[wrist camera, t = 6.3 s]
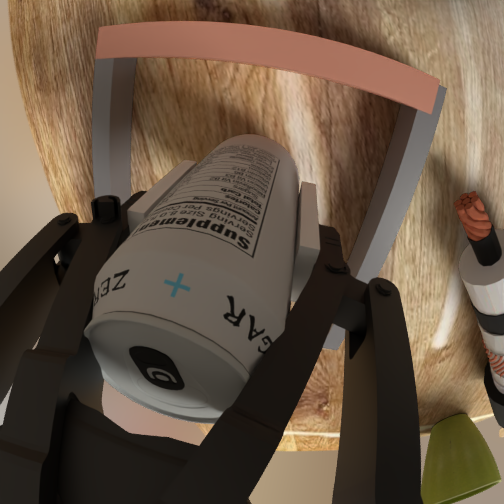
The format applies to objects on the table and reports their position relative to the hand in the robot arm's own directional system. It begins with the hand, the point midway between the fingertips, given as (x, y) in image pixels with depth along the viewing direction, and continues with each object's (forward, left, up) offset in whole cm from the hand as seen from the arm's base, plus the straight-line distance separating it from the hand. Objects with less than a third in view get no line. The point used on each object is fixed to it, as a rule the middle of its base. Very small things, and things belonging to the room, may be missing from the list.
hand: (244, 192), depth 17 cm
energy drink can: (0, 0, -3) cm, 3 cm away
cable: (+7, +29, -4) cm, 30 cm away
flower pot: (+34, +42, -4) cm, 54 cm away
